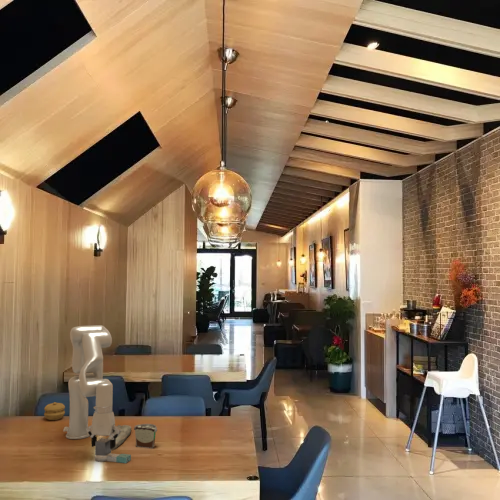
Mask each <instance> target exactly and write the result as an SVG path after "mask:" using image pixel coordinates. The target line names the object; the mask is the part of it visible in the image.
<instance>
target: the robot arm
mask: <svg viewBox="0 0 500 500" xmlns="http://www.w3.org/2000/svg"><path fill="white" fill-rule="evenodd" d="M69 338H70V342H71V345H72V362H71V365H72V366H71V368H72V372H73V374H78V375H74V376H72V377H71V378H69V380H68V383H67V385H68V395H69V417H68V419H69V421H68V424H69V425H68V426H64V428H63V432H67V433H66V434H65V437H66V439H69V440H82V439H86V438H89V437H90V441H91V443H90V444H91V448H95V442H96V441H97V440H98V439H97V436H101V437H102V436H103V437H109V436H110V438H111V439H112V440H110V448H111V449H112V448H114V447H115V445H116V438H117V437H118V436H119V434H120V432H121V429H119V428H118V427H116V426H117V425H116V417H115V414H114V411H113V394H114V393H113V391H114V390H113V388H114V387H113V383H112V382H111V381H110V380H109V379H108V378H103V376H104V375H103V374H104V355H103V349H102V348H109V347H111V345H112V343H113V338H112V335H111V333H110V331H109V329H107V328H106V327H105V326H104V325H102V324H100V325H99V324H98V325H79V326H74V327H71V329H70V331H69ZM89 397H95V406H93V410H95V411H94V412H93V416H92V418H91V419H92V420H91V424H90V425H89V400H88V398H89ZM115 431H116V434H115Z"/></svg>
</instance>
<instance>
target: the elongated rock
mask: <svg viewBox="0 0 500 500" xmlns="http://www.w3.org/2000/svg"><path fill="white" fill-rule="evenodd" d="M115 426H116V427H118V428H119V429H121V432H120V434H119V436H118V437H117V438H116V445H115V447H114V448H112V449H111V451H114V450H116V449H117V448H118V447H120V445H122V444H123V443H125V441H126V440H127V438H129V436H130V435H131V432H132V426H131V425H126V424H123V425H121V424H118V425H115ZM115 434H116V431H115ZM106 439H111V438H110V436H107V438H106ZM111 440H112V439H111Z"/></svg>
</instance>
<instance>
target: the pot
mask: <svg viewBox="0 0 500 500" xmlns="http://www.w3.org/2000/svg"><path fill="white" fill-rule="evenodd" d="M65 409H66V406H65V404H64V403H62V402H55V401H54V402H52V403H48V404H47V405H45V407H44V409H43V410H44V413H43V415H44V418H45V419H46V420H49V421H57V420H60V419H62V418H63V417H64V416H65V414H66V410H65Z"/></svg>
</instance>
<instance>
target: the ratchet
mask: <svg viewBox="0 0 500 500" xmlns="http://www.w3.org/2000/svg"><path fill="white" fill-rule="evenodd" d="M131 455H132V454H127V453H120V454H119V453H118V454H117V453H112V452H111V453H109V454H108V455H106V456H100V455H95V454H94V456H95V457H94V458H95V462H97V463H99V462H100V463H102V462H103V463H104V462H110V463H111V462H112V463H120V464H127V463H129V462H130V461H131V460H132V456H131Z"/></svg>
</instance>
